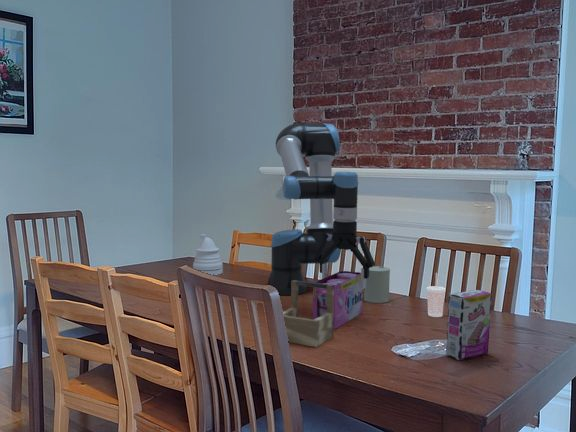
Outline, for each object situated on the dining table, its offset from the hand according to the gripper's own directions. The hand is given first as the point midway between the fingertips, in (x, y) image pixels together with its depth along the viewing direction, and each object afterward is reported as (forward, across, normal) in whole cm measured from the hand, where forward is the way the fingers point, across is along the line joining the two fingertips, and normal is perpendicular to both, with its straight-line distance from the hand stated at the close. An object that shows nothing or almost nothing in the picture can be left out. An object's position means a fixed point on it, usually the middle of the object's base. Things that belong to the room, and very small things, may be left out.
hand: (343, 285), depth 191 cm
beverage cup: (+10, +26, +15) cm, 32 cm away
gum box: (+10, 0, -5) cm, 11 cm away
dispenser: (+9, 0, -27) cm, 29 cm away
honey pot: (+12, -77, +30) cm, 84 cm away
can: (+11, +2, +25) cm, 28 cm away
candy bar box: (+9, +44, -20) cm, 49 cm away
